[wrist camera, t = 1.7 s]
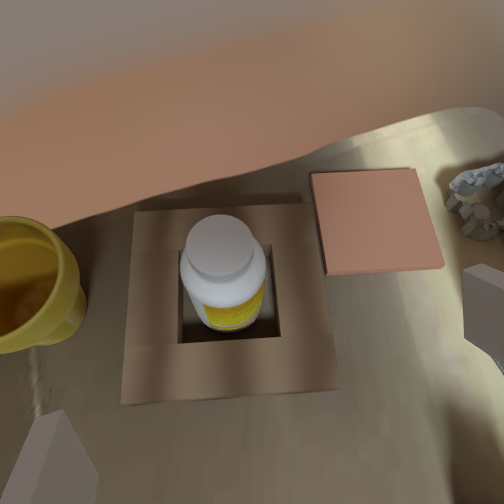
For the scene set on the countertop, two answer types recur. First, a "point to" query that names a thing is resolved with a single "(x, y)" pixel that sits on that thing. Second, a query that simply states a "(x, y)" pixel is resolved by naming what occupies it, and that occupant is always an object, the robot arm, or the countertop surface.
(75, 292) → the plant pot
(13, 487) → the robot arm
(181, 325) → the pocket board
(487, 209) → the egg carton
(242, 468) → the countertop surface
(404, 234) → the mat
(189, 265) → the supplement bottle
